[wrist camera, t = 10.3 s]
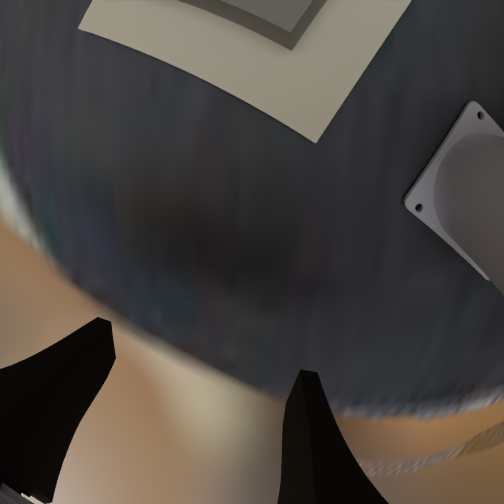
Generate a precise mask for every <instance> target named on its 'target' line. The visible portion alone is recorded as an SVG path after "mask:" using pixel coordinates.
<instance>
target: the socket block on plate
mask: <svg viewBox="0 0 504 504" xmlns="http://www.w3.org/2000/svg"><path fill="white" fill-rule="evenodd" d="M411 1H412V0H93V1H92V3H91V4H90V6H89V8H88V10H87V12H86V14H85V16H84V17H83V19H82V21H81V23H80V25H79V27H78V29H81V30H84V31H87V32H90V33H93V34H96V35H99V36H102V37H104V38H107V39H110V40H113V41H115V42H118V43H121V44H123V45H126V46H128V47H131V48H133V49H136V50H138V51H141V52H143V53H146V54H148V55H151V56H153V57H155V58H158V59H160V60H162V61H165V62H167V63H169V64H171V65H173V66H176V67H178V68H180V69H182V70H184V71H186V72H189V73H191V74H193V75H195V76H197V77H199V78H201V79H203V80H205V81H207V82H209V83H211V84H213V85H215V86H217V87H219V88H221V89H223V90H225V91H227V92H229V93H231V94H232V95H234V96H236V97H238V98H240V99H242V100H244V101H245V102H247V103H249V104H251V105H253V106H254V107H256V108H258V109H260V110H261V111H263V112H265V113H267V114H268V115H270V116H272V117H274V118H275V119H277V120H279V121H280V122H282V123H284V124H285V125H287V126H289V127H290V128H292V129H293V130H295V131H297V132H298V133H300V134H302V135H303V136H305V137H306V138H308V139H309V140H311V141H313V142H314V143H317V141H318V139H319V138H320V136H321V135H322V133H323V132H324V130H325V129H326V127H327V126H328V124H329V123H330V121H331V120H332V118H333V117H334V115H335V114H336V112H337V111H338V109H339V108H340V106H341V105H342V103H343V102H344V100H345V99H346V97H347V96H348V94H349V93H350V91H351V90H352V88H353V87H354V85H355V84H356V82H357V81H358V79H359V78H360V76H361V75H362V73H363V72H364V70H365V69H366V67H367V66H368V64H369V63H370V61H371V60H372V58H373V57H374V55H375V54H376V52H377V51H378V49H379V48H380V47H381V45H382V44H383V42H384V41H385V39H386V38H387V36H388V35H389V33H390V32H391V30H392V29H393V27H394V26H395V24H396V23H397V21H398V20H399V18H400V17H401V15H402V14H403V12H404V11H405V9H406V8H407V6H408V5H409V3H410V2H411Z"/></svg>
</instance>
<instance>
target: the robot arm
mask: <svg viewBox="0 0 504 504" xmlns="http://www.w3.org/2000/svg"><path fill="white" fill-rule="evenodd" d="M478 112H480V114H481V117H480V119H478V117H477V113H478ZM417 204H421V207H420V209H419V210H415V207H416V205H417ZM404 206H405V207H406V208H407V209H408V210H409V211H410V212H412V213H413V214H414V215H415V216H416V217H418V218H419V219H420V220H421V221H423V222H424V223H425V224H426V225H427V226H428V227H430V228H431V229H432V230H433V231H434V232H435V233H437V234H438V235H439V236H440V237H441V238H442V239H443V240H445V241H446V242H447V243H448V244H449V245H450V246H451V247H452V248H454V249H455V250H456V251H457V252H458V253H459V254H460V255H461V256H462V257H463V258H464V259H465V260H467V261H468V262H469V263H470V264H471V265H472V266H473V267H474V268H475V269H476V270H477V271H478V272H479V273H480V274H481V275H482V276H483V277H484V278H485V279H486V280H491V281H492V282H493V284H494V285H495V286H496V287H497V288H498V289H499V291H500V292H501V293H502V294H503V295H504V132H503V131H502V129H501V128H500V127H499V126H498V125H497V124H496V122H495V121H494V120H493V119H492V118H491V117H490V116H489V115H488V113H487V112H486V111H485V110H484V109H483V108H482V107H481V106H480V105H479V104H478V103H477V102H474V101H470V102H468V103H467V104H466V106H465V107H464V109H463V111H462V112H461V114H460V116H459V117H458V119H457V120H456V122H455V124H454V125H453V127H452V128H451V130H450V132H449V133H448V135H447V136H446V138H445V139H444V141H443V142H442V144H441V145H440V147H439V148H438V150H437V151H436V153H435V154H434V156H433V157H432V159H431V160H430V162H429V163H428V165H427V166H426V168H425V169H424V171H423V172H422V173H421V175H420V176H419V178H418V179H417V181H416V182H415V183H414V185H413V186H412V188H411V189H410V190H409V192H408V193H407V195H406V196H405V198H404ZM115 359H116V356H115V349H114V341H113V334H112V325H111V321H108V320H105V319H102V318H99V317H97V318H96V319H94V320H92V321H90V322H89V323H87V324H86V325H84V326H82V327H81V328H79V329H78V330H76V331H75V332H73V333H71V334H70V335H68V336H67V337H65V338H63V339H62V340H60V341H58V342H57V343H55V344H53V345H51V346H50V347H48V348H46V349H44V350H42V351H41V352H39V353H37V354H35V355H33V356H31V357H29V358H27V359H25V360H22V361H20V362H18V363H15V364H13V365H11V366H8V367H5V368H2V369H0V504H34V503H32V502H31V501H29V500H27V499H26V498H24V497H23V496H21V493H23V494H25V495H27V496H28V497H30V496H32V497H34V498H36V499H37V500H39V501H41V502H42V503H44V504H47V503H51V502H52V500H53V496H54V492H55V488H56V484H57V480H58V477H59V473H60V470H61V467H62V464H63V461H64V458H65V456H66V453H67V450H68V448H69V445H70V443H71V440H72V438H73V436H74V434H75V431H76V429H77V427H78V425H79V423H80V421H81V419H82V418H83V416H84V415H85V413H86V411H87V410H88V408H89V406H90V405H91V403H92V402H93V400H94V398H95V397H96V395H97V394H98V392H99V390H100V389H101V387H102V386H103V384H104V382H105V381H106V379H107V377H108V375H109V373H110V370H111V368H112V366H113V364H114V361H115ZM278 504H389V503H388V502H387V501H386V500H385V499H384V498H383V497H382V496H381V494H380V493H379V492H378V491H377V489H376V488H375V487H374V485H373V484H372V483H371V482H370V480H369V479H368V478H367V476H366V475H365V473H364V472H363V470H362V469H361V467H360V466H359V464H358V463H357V461H356V460H355V458H354V456H353V455H352V453H351V451H350V449H349V448H348V446H347V444H346V442H345V440H344V438H343V436H342V434H341V432H340V430H339V428H338V426H337V423H336V421H335V418H334V416H333V414H332V411H331V409H330V407H329V404H328V401H327V399H326V396H325V393H324V390H323V387H322V384H321V381H320V378H319V375H318V373H317V372H312V371H306V370H300V372H299V374H298V376H297V379H296V381H295V383H294V386H293V388H292V390H291V393H290V395H289V397H288V399H287V402H286V407H285V414H284V421H283V432H282V466H281V483H280V491H279V497H278Z"/></svg>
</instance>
